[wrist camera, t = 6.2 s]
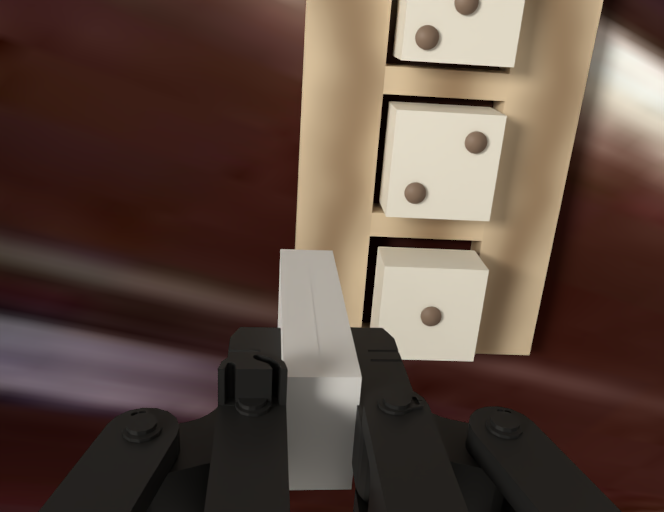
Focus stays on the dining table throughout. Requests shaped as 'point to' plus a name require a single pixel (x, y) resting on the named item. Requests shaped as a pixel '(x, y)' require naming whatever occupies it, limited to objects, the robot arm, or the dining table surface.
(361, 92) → the button board
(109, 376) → the dining table surface
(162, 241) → the dining table surface
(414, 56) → the three pip tile
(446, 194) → the two pip tile
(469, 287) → the one pip tile
